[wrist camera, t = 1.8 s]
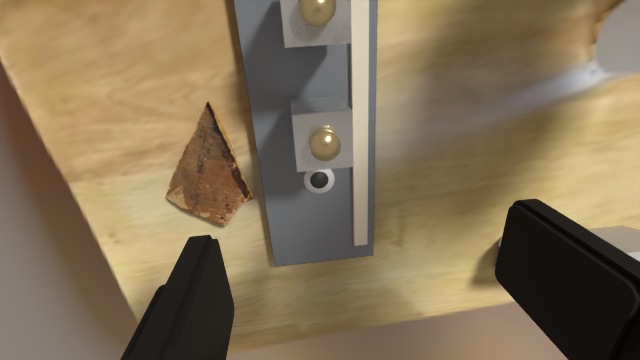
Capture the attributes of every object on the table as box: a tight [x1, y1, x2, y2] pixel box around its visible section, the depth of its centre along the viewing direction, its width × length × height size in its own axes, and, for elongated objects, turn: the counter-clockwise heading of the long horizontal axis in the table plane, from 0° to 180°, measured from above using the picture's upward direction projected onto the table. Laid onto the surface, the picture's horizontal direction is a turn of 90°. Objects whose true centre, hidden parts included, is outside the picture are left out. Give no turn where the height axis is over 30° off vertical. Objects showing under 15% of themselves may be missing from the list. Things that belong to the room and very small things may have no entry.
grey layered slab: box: [494, 226, 640, 270], centre depth 34 cm, size 17×5×10 cm, turn 92°
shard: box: [166, 101, 254, 226], centre depth 29 cm, size 11×8×2 cm
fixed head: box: [280, 0, 352, 48], centre depth 20 cm, size 4×4×8 cm
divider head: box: [291, 96, 353, 172], centre depth 23 cm, size 4×4×8 cm
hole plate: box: [234, 0, 378, 267], centre depth 28 cm, size 28×11×2 cm, turn 3°
